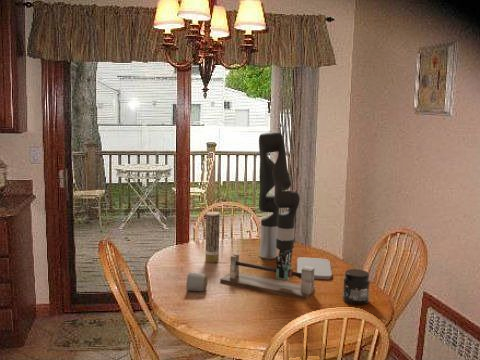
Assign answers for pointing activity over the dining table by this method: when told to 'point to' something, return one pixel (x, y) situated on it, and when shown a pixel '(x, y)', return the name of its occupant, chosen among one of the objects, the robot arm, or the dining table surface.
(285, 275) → the sleeve
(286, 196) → the robot arm
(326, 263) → the tablet
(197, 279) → the ceramic mug
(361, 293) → the supplement container
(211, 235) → the paper tube
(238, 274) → the stand
